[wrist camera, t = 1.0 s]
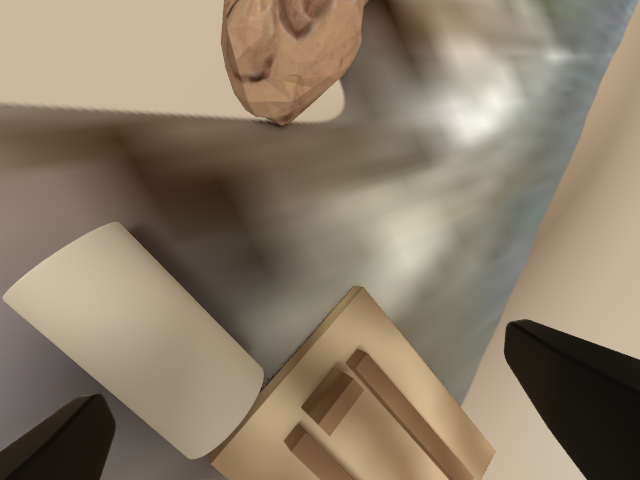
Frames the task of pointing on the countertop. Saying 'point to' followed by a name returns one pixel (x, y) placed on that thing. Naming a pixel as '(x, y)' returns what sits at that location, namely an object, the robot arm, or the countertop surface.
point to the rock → (288, 51)
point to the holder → (354, 411)
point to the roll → (141, 337)
